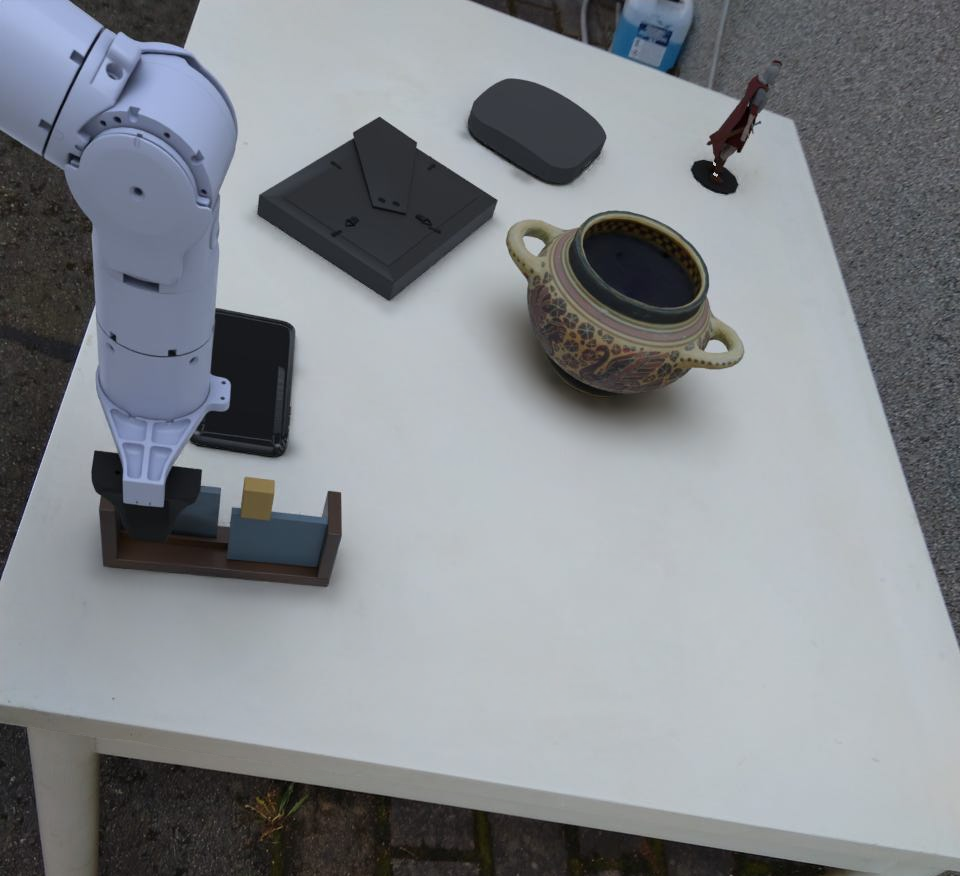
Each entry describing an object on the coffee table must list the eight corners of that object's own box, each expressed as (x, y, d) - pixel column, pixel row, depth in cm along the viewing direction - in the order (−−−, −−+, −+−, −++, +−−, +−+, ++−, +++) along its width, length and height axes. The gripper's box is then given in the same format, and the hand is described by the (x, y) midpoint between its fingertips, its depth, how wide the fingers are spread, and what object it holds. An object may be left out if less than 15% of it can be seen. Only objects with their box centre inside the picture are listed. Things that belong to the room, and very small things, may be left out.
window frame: (327, 544, 73) (341, 491, 68) (328, 586, 71) (342, 535, 66) (109, 522, 68) (105, 463, 63) (103, 566, 66) (98, 509, 61)
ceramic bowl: (448, 351, 93) (471, 242, 79) (539, 242, 99) (575, 123, 85) (655, 486, 91) (716, 400, 77) (734, 366, 98) (803, 267, 84)
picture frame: (374, 141, 103) (256, 213, 91) (379, 116, 100) (259, 187, 88) (492, 217, 102) (389, 300, 90) (500, 193, 100) (395, 276, 87)
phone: (186, 433, 73) (205, 305, 81) (186, 443, 74) (205, 315, 82) (288, 449, 75) (297, 323, 83) (286, 459, 76) (296, 332, 84)
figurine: (738, 201, 119) (805, 84, 107) (686, 182, 118) (748, 62, 106) (736, 172, 123) (800, 56, 111) (686, 153, 122) (745, 34, 109)
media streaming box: (454, 129, 109) (461, 104, 106) (511, 89, 117) (518, 65, 115) (560, 194, 108) (569, 171, 105) (609, 149, 116) (618, 126, 114)
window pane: (317, 558, 71) (334, 486, 64) (316, 571, 70) (334, 500, 63) (227, 549, 69) (235, 474, 62) (226, 562, 68) (234, 489, 61)
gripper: (230, 434, 45) (214, 589, 56) (241, 241, 52) (225, 412, 63) (72, 413, 43) (88, 578, 54) (107, 215, 50) (114, 396, 61)
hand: (154, 487), depth 59 cm, fingers open, 7 cm apart
